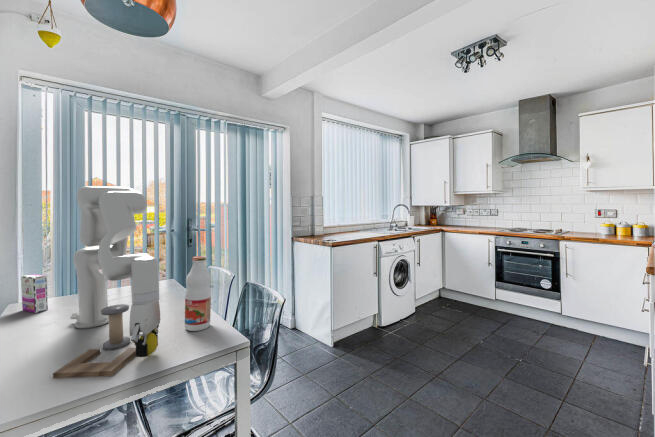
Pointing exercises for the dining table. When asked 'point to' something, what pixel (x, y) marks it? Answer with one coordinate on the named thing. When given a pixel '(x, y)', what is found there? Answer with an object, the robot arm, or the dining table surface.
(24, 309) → the candy bar box
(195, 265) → the fruit juice
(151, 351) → the lemon
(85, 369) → the notched board
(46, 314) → the dining table surface
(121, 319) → the spool
